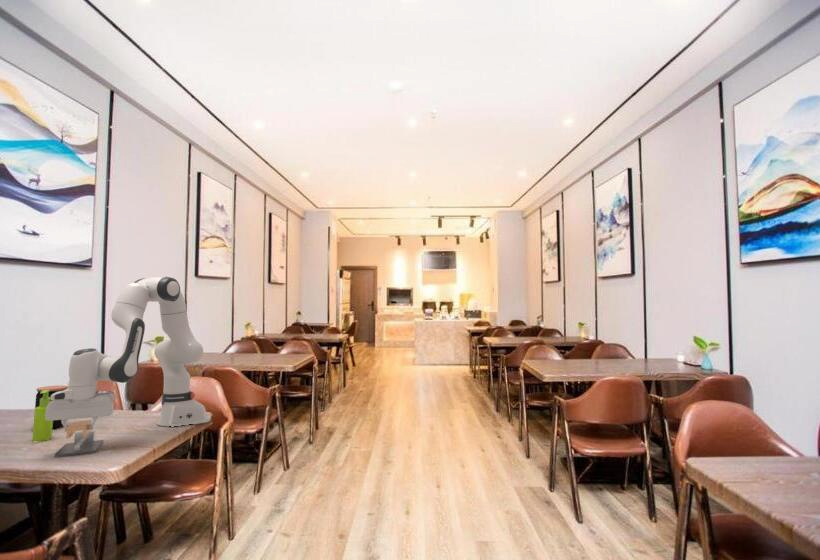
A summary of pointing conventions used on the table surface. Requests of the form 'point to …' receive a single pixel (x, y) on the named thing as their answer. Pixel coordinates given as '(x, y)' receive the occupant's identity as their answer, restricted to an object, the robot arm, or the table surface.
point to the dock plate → (84, 450)
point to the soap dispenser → (42, 420)
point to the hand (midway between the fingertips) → (79, 430)
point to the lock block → (78, 428)
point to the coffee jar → (52, 390)
